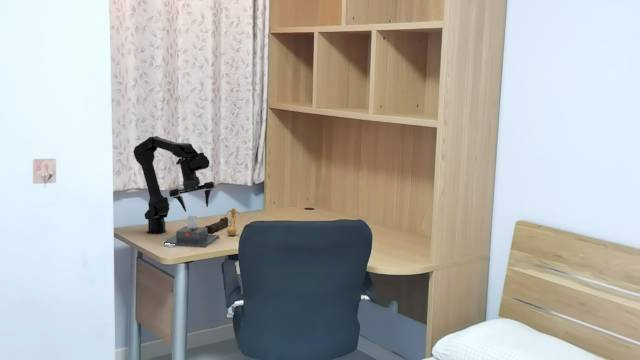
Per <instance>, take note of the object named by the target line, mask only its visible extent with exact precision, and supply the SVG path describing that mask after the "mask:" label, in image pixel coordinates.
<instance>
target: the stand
mask: <svg viewBox="0 0 640 360" xmlns="http://www.w3.org/2000/svg"><path fill="white" fill-rule="evenodd" d="M175 234H176V235H173V236H172V237H170V238H169V239H167V240H165V241H163V245H164V244H165V243H170V244H175V245H174V246H176V245H177V247H179V246H180V247H181V246H182V247H193V248H194V247H195V248H196V247H197V248H206V247H208V246H210V245H211V244H213V243H214V242H215V241H217V240H218V239H219V238H220V234H219V235H218V234H208V233H207V228H206V227H205V226H204V227H203V226H202V227H201V226H197V230H195V231H192V229H187V225H186V226H185V225H184V226H183V227H181V228H180V229H178V230H176V231H175Z"/></svg>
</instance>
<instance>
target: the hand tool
mask: <svg viewBox="0 0 640 360" xmlns="http://www.w3.org/2000/svg"><path fill="white" fill-rule="evenodd" d="M228 226H229V217H227V216H225V218H224V217H222V218H220V219H219V221H217V222H214V223H211V224H209V225H205V226H204V227H206V228H207V233H208V235H212V234H214V232H216V231H219V230H221V229H227V227H228Z"/></svg>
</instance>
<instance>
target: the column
mask: <svg viewBox="0 0 640 360" xmlns="http://www.w3.org/2000/svg"><path fill="white" fill-rule="evenodd" d="M197 219H198V217H197V215H189V216H187V218H186V221H187V225H186V226H187V229H192V231H195V230H197V227H198V223H197V222H198V221H197Z"/></svg>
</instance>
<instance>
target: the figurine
mask: <svg viewBox="0 0 640 360" xmlns="http://www.w3.org/2000/svg"><path fill="white" fill-rule="evenodd" d="M229 213H230V214H231V215H230V216H229V217H230V218H229V223H230V226H229V227H228V228H227V230H226V232H227V234H228V235H229V236H231V237H232V236H235V235H236V234H237V228H236V227H235V225H236V220H237V215H236V214H237V213H238V214H239V215H240V220H243V216H242V213H241V212H240V211H239V210H237V209H236V208H235V207H232V208H231V209H230V210H228V211H227V212H226V213H225V214H224V217H223V218H225V217H227V215H228V214H229ZM232 221H233V222H232ZM232 224H233V225H232Z"/></svg>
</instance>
